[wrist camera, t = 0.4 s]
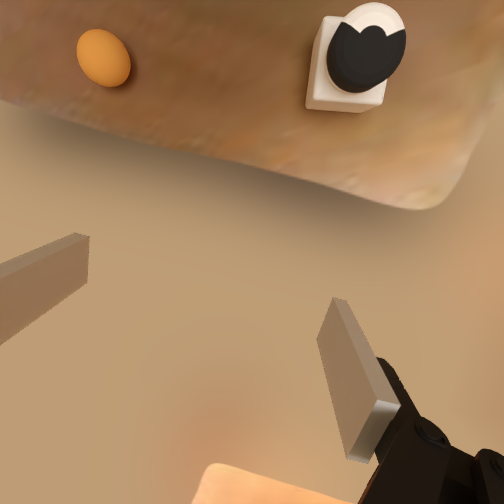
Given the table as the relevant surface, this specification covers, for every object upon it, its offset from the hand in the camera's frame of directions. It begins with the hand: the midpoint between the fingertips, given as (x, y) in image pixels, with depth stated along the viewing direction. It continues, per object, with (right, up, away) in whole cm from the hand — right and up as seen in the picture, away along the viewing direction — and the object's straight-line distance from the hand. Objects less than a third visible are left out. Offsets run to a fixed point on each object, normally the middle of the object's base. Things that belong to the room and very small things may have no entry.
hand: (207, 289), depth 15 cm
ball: (-15, +24, +18) cm, 33 cm away
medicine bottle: (+13, +23, +19) cm, 33 cm away
